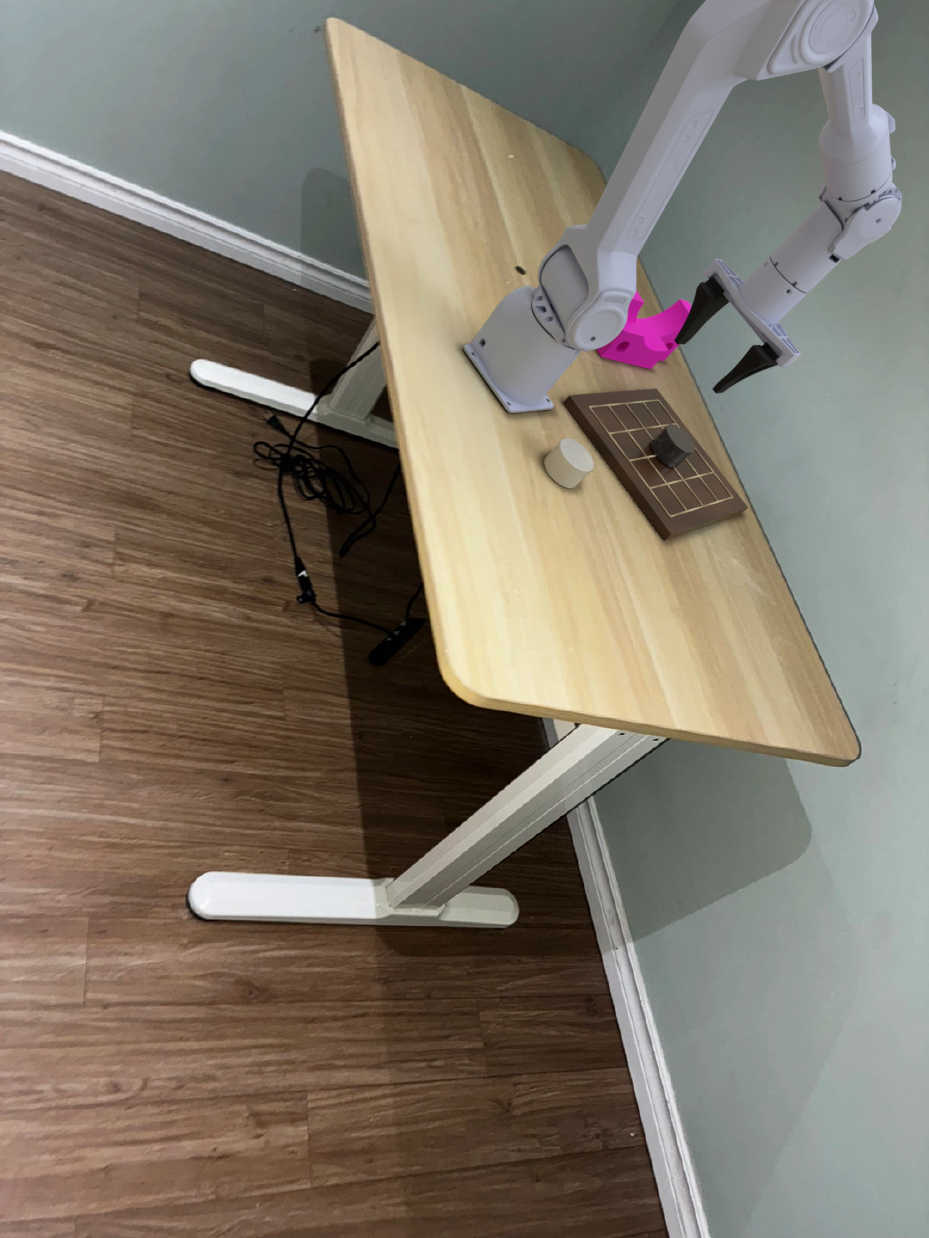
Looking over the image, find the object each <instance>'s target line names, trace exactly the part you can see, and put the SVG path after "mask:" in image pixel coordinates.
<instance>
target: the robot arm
mask: <svg viewBox="0 0 929 1238" xmlns="http://www.w3.org/2000/svg"><path fill="white" fill-rule="evenodd" d="M878 21H879V14H878V10H877V8H876V5H875V0H705V1H703V2H702V4H701V5H700V6H699V8H697V10H696V11H695V12H694V13H693V14H692V15H691V17H690V18H689V20H688V22H686V24H685V26H684V28H683V29H682V31H681V33H680V36H679V38H678V40H677V42H676V44H675V46H674V48H673V50H672V51H671V54H670V56H669V58H668V60H667V62H666V64H665V66H664V68H663V70H662V72H661V74H660V76H659V79H658V80H657V82H656V84H655V86H654V88H653V90H652V93H651V95H650V97H649V99H648V101H647V103H646V105H645V107H644V109H643V111H642V113H641V115H640V117H639V118H638V121H637V122H636V125H635V127H634V129H633V131H632V133H631V135H630V137H629V139H628V141H627V143H626V145H625V148H624V150H623V151H622V153H621V155H620V158H619V159H618V162H617V164H616V165H615V168H614V169H613V171H612V174H611V176H610V178H609V180H608V182H607V184H606V186H605V187H604V190H603V192H602V195H601V196H600V198H599V200H598V202H597V205H596V206H595V208H594V210H593V213H592V215H591V217H590V218H589V220H588V223H581V224H574V225H571V226H570V225H569V226H567V227H565V229H564V231H563V233H562V234H561V236H560V238H559V240H558V241H557V243H556V244H555V245H554V246H553V247H552V248H551V249H550V250H549V251H548V252H546V254H545V255H544V257H543V258H542V260H541V261H540V264H539V266H538V269H537V282H538V285H537V286H536V287H534V286H532V285H523V286H521V287H518V288H515V289H513V290H512V291H511V292H509V293H508V294H507V295H505V296H504V297H503V298H502V299H501V300H500V301H499V302H498V304H497V305H496V306H495V307H494V309H493V310H492V312H491V313H490V315H489V316H488V318H487V319H486V321H484V323H483V324H482V326H481V328H480V329H479V330H478V332H477V333H476V335H475V336H474V338H473V339H472V340H471V341H470V343H466V344H464V345H463V346H462V350H463V351H464V352H465V354H466V355H467V356H468V358H469V359H470V362H471V363H472V364H473V365H474V367H475V368H476V369H477V371H478V372H479V374H480V375H481V376H482V378H483V379H484V380H485V382H486V383H487V386H488V387H489V388H490V389H491V390H492V392H493V393H494V395H495V396H496V398H497V399H498V400H499V402H500V403H501V405H502V406H503V407H504V409H505V410H506V411H507V412H508V413H510V414H516V413H517V414H518V413H527V412H536V411H537V412H538V411H547V410H553V408H554V402H552V400H551V399H550V397H549V396H548V393H549V392H550V390H552V388H553V386H554V385H555V384H556V383H557V382H558V381H559V380H560V378H561V377H562V375H564V373H565V372H566V371H567V370H568V369H569V367H570V366H572V364H573V363H574V362H575V361H576V359H577V358H578V357H579V356H580V355H581V353H582V352H585V353H589V352H590V351H594V350H597V349H598V348H601V347H603V346H605V345H607V344H608V343H610V342H611V341H612V340H614V339H615V338H616V337H617V336H618V335H619V333H620V332H621V331H622V329H623V328H624V326H625V324H626V321H627V317H628V307H629V304H630V302H631V300H632V298H633V297H634V295H635V293H636V290H637V261H638V260H637V259H638V256H639V254H640V252H641V251H642V249H643V248H644V245H645V243H646V242H647V240H648V238H649V236H650V235H651V233H652V232H653V229H654V228H655V226H656V224H657V223H658V220H659V219H660V217H661V215H662V214H663V211H664V210H665V208H666V207H667V204H668V203H669V201H670V200H671V197H672V196H673V194H674V192H675V191H676V189H677V187H678V185H679V183H680V182H681V180H682V178H683V176H684V175H685V173H686V171H687V169H688V167H689V165H690V164H691V162H692V161H693V158H694V157H695V155H696V153H697V152H698V149H699V148H700V146H701V145H702V143H703V141H704V139H705V138H706V136H707V134H708V132H709V130H710V129H711V126H712V125H713V123H714V122H715V120H716V118H717V116H718V115H719V113H720V111H721V109H722V107H723V106H724V104H725V103H726V100H727V99H728V97H729V96H730V93H731V91H732V90H733V88H735V86H737V85H740V84H742V83H744V82H746V81H747V80H752V81H763V80H769V79H773V78H777V77H783V76H786V75H792V74H797V73H802V72H807V71H811V70H815V69H817V72H818V77H819V81H820V86H821V89H822V93H823V94H822V95H823V98H824V102H825V107H826V110H827V115H828V120H827V121H826V122H825V123H824V125H823V127H822V128H821V130H820V133H819V136H818V148H819V153H820V158H821V165H822V170H823V175H824V177H823V178H824V180H823V182H822V183H821V185H820V187H819V190H818V193H817V199H818V200H819V203H818V205H816V207H815V208H814V209H813V210H811V212H810V213H809V214H808V215H806V217H805V218H804V219H803V220H802V221H801V223H800V224H798V226H797V227H796V228H795V229H794V230H793V231H792V232H791V233H790V234H789V235H788V236H787V237H786V238H785V239H784V241H783V242H781V244H779V246H777V248H776V249H775V250H774V251H773V252H772V253H771V254H770V255H769V257H767V258H766V259H765V261H763V263H761V264H760V265H759V267H758V268H756V270H755V271H754V272H753V273H752V274H751V275H750V276H749V278H747V280H745V281H744V280H742V278H741V277H740V276H739V275H737V274H736V272H735V271H733V269H731V268H730V266H729V265H728V264H727V263H726V261H724V259H720V258H714V259H713V260H712V261H711V262H710V264H708V265H707V267H706V268H705V269H704V270H703V272H702V273H703V274H704V276H705V277H706V278H707V280H705V281H701V282H700V283H698V285H697V287H696V290H695V294H694V298H693V301H692V304H691V306H692V307H691V309H690V312H689V314H688V316H687V318H686V320H685V322H684V324H683V326H682V328H681V330H680V331H679V333H678V335H677V336H676V338H675V339H674V341H675V343H676V344H679V345H686V344H687V343H689V342H690V341H691V340H692V339H693V338H694V337H695V336H696V334H697V333H698V332H699V331H700V330H701V329H702V327H703V326H704V325H705V324H707V322H708V321H710V320H711V319H712V317H714V316H716V314H717V313H719V311H721V310H722V309H723V308H724V307H725V306H727V305H728V304H729V303H730V304H731V306H732V307H733V308H734V309H735V310H736V312H737V313H738V314H739V316H740V317H741V318H742V319H743V320H744V321H745V323H746V324H747V325H748V327H749V328H750V329H751V330H752V331H753V333H754V334H755V335H756V336H757V337H758V339H759V340H760V341H761V342H762V343H763V344H753V345H751V347H749V349H748V350H747V352H746V353H745V354H744V356H742V358H741V359H740V360H739V362H737V364H736V365H735V366H734V367H733V368H732V369H731V370H730V371H729V372H728V373H726V375H725V376H723V377H722V378H721V379H720V380H719V381H717V382H716V384H715V385H714V386H713V387H712V391H713V392H714V394H723V393H725V392H726V391H728V390H729V389H730V388H732V387H734V386H735V385H736V384H738V383H740V382H742V381H744V380H746V379H747V378H749V377H751V376H754V375H756V374H758V373H760V372H763V371H766V370H768V369H772V368H774V367H777V366H779V367H780V368H789V367H790V366H791V365H792V364H793V363H794V362H795V361H796V360H797V359H798V358H799V357H801V356H802V353H801V352H800V351H799V349H798V348H797V347H796V345H794V343H793V341H792V340H791V339H790V336H789V335H788V333H787V332H786V331H785V329H784V327H783V326H782V324H781V323H780V321H781V320H783V318H784V317H785V316H786V315H787V314H788V313H789V312H790V311H791V310H792V309H793V308H795V306H796V305H797V304H799V302H800V301H802V299H803V298H805V296H807V294H809V293H810V292H811V291H812V290H813V289H814V288H815V287H816V286H817V285H818V284H819V283H820V282H821V281H822V280H823V279H824V278H825V277H826V276H827V275H828V274H829V273H830V272H831V271H833V269H834V268H835V267H836V266H837V265H838V264H839V263H840V262H841V261H842V260H844V261H847V260H849V259H851V258H853V257H854V256H855V255H856V254H858V252H859V251H861V249H863V248H864V247H866V246H868V245H870V244H872V243H875V242H876V241H878V240H880V239H881V238H882V237H884V236H885V235H887V234H888V233H889V232H890V231H891V230H892V229H893V227H892V226H893V225H894V224H895V223H896V221H897V219H898V218H899V216H900V214H901V211H902V202H903V194H902V192H901V191H900V189H899V188H898V187H897V185H895V183H894V182H893V171H894V170H895V169H896V167H897V164H896V163H897V161H896V159H895V158H894V157H893V156H892V152H891V142H890V141H891V140H890V139H891V138H890V135H891V134H892V133H894V132H895V131H896V120H895V118H894V117H893V116H892V115H891V114H890V113H889V112H888V111H886V110H884V109H883V108H882V107H881V106H880V105H878V104H875V103H873V63H872V32H873V31H874V28H875V27H876V25H877V24H878Z"/></svg>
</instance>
